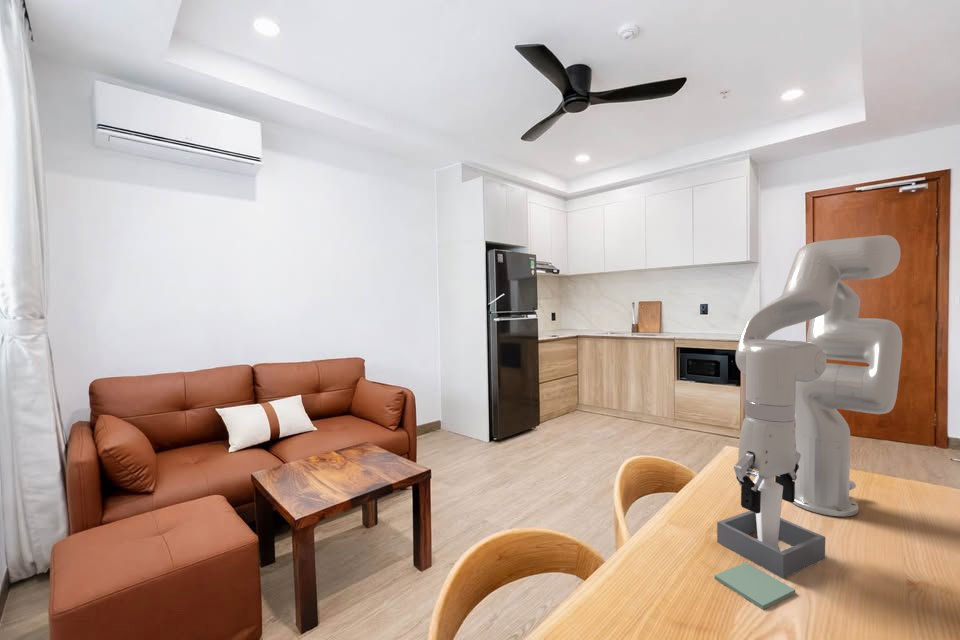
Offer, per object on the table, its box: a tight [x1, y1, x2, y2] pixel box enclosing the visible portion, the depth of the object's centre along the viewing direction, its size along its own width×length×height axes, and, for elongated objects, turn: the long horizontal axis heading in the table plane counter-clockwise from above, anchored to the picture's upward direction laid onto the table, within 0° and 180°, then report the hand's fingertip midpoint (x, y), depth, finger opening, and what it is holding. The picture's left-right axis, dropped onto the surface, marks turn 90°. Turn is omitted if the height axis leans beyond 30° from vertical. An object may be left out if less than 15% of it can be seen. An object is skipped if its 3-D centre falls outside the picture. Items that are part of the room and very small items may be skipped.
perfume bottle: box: [756, 477, 783, 551], centre depth 79 cm, size 5×4×15 cm
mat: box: [714, 561, 796, 610], centre depth 70 cm, size 8×8×1 cm
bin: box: [716, 510, 826, 579], centre depth 80 cm, size 12×12×4 cm
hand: (767, 504), depth 79 cm, fingers open, 9 cm apart
